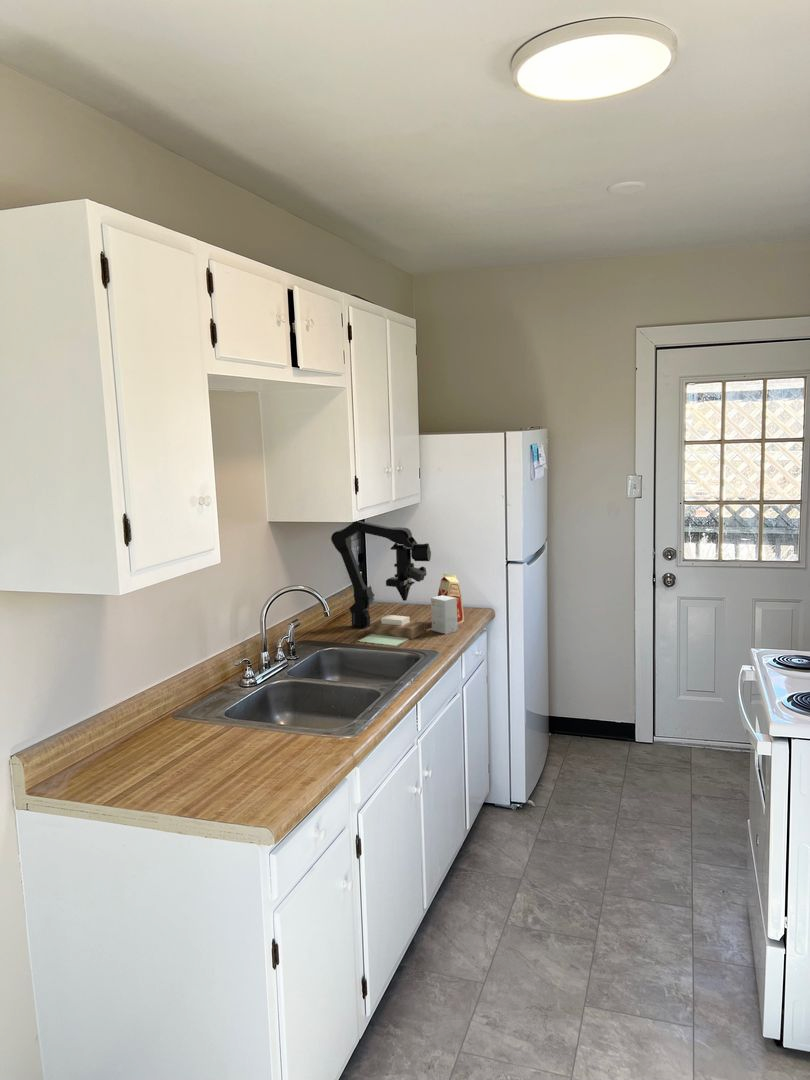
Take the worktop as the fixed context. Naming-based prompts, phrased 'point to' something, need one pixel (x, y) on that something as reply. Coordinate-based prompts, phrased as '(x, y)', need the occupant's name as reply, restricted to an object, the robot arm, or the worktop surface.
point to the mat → (384, 640)
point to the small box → (444, 614)
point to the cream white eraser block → (395, 620)
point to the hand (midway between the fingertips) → (404, 600)
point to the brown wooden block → (398, 629)
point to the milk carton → (452, 593)
